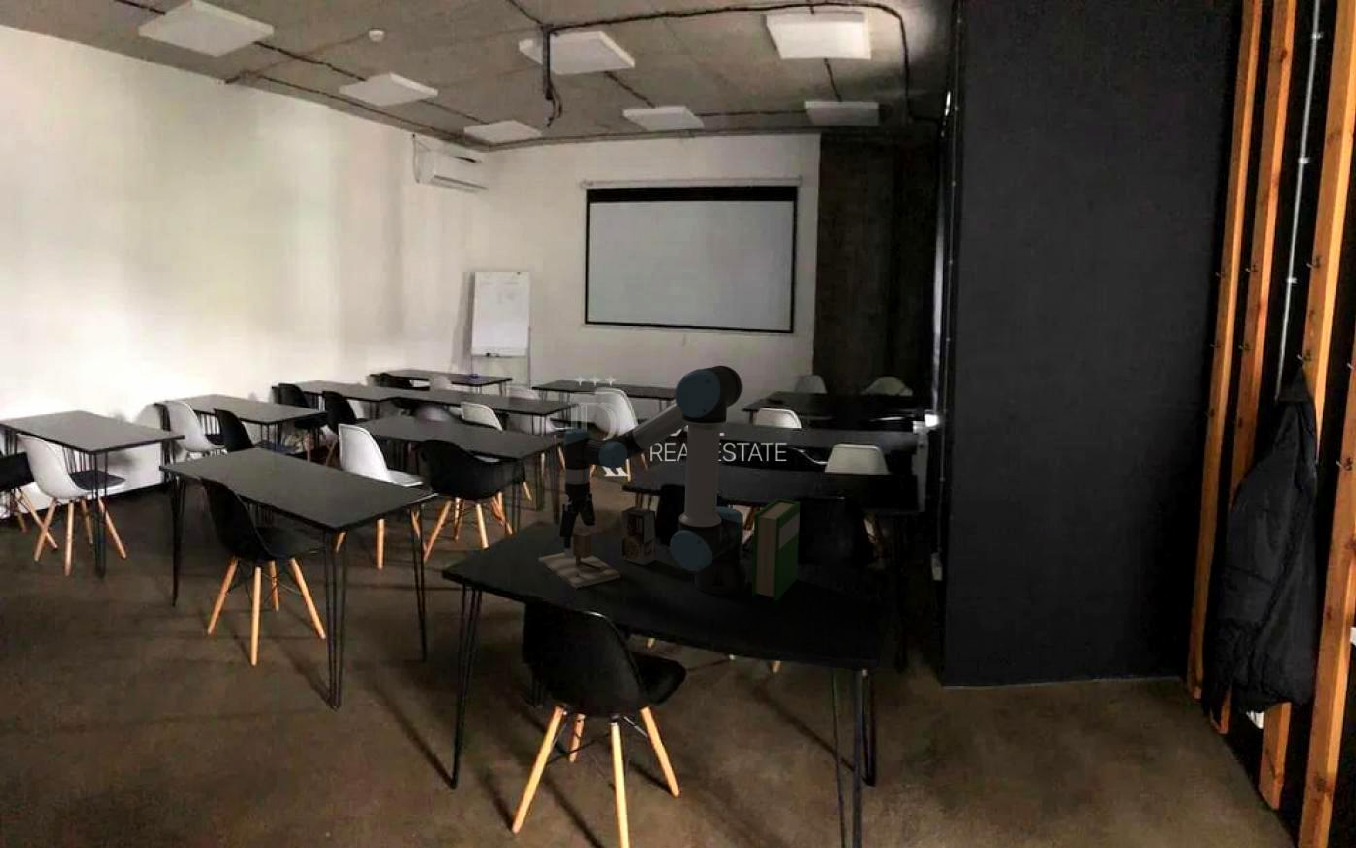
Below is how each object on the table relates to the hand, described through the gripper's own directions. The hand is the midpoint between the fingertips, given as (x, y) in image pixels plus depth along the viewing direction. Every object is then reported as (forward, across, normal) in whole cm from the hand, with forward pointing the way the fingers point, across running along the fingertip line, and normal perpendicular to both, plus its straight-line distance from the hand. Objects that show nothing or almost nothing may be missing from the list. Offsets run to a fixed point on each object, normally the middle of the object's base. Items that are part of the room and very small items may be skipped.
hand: (578, 551), depth 233 cm
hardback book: (+6, -12, +58) cm, 60 cm away
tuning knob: (+4, +1, +2) cm, 5 cm away
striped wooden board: (+6, 0, 0) cm, 6 cm away
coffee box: (+6, -15, +13) cm, 21 cm away
